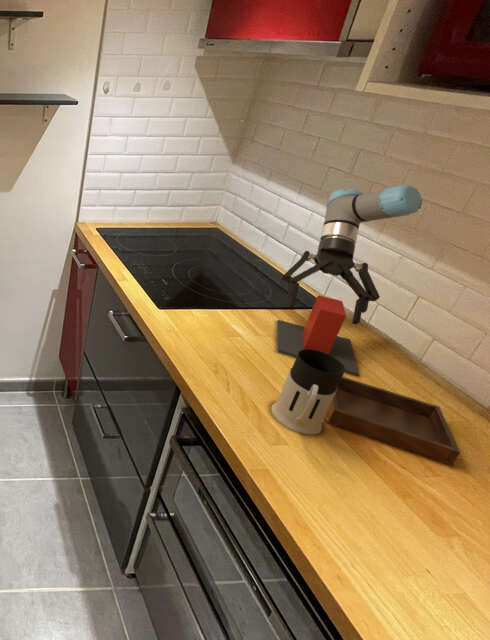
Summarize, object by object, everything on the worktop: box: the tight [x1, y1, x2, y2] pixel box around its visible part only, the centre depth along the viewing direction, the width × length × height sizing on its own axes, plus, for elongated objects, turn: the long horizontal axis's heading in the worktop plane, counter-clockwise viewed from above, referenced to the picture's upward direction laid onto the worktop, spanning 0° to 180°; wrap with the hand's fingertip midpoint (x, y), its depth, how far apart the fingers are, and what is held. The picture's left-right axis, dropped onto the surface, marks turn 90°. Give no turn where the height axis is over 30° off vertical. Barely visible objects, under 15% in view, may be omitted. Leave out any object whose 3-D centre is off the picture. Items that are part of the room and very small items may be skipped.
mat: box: [276, 319, 359, 377], centre depth 116 cm, size 16×16×1 cm
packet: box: [302, 294, 347, 355], centre depth 113 cm, size 5×8×12 cm, turn 147°
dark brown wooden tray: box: [326, 376, 461, 467], centre depth 93 cm, size 19×14×4 cm
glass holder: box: [270, 349, 346, 435], centre depth 89 cm, size 9×14×15 cm, turn 140°
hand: (322, 314), depth 116 cm, fingers open, 13 cm apart
